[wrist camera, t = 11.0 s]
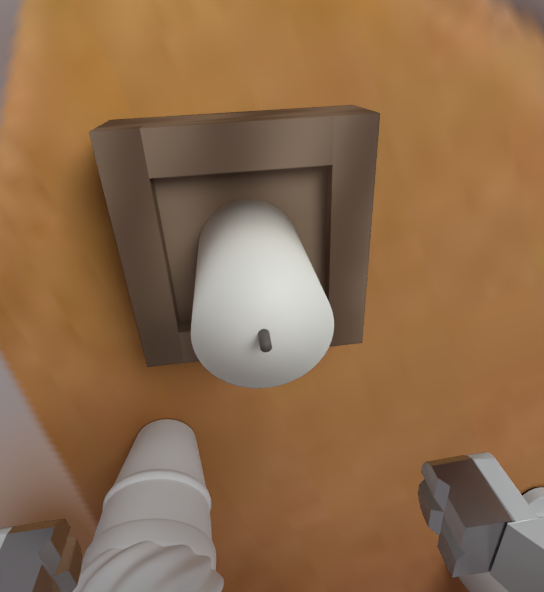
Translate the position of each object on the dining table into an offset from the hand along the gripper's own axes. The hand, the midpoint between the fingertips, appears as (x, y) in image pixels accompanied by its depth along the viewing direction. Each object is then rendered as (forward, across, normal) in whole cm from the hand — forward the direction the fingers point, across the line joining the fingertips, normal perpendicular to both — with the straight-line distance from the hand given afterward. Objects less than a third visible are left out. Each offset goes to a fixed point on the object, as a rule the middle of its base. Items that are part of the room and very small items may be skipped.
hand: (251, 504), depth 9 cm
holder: (+16, -1, -1) cm, 16 cm away
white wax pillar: (+13, -1, -1) cm, 13 cm away
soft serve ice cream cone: (+17, +6, +15) cm, 23 cm away
